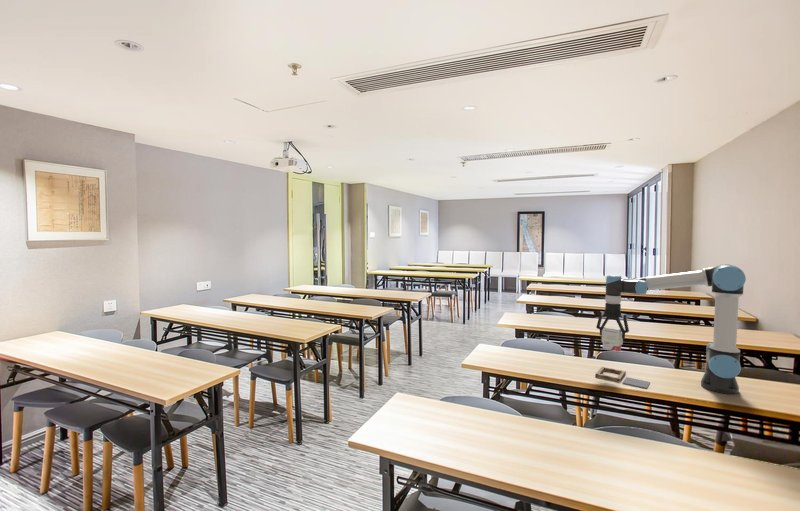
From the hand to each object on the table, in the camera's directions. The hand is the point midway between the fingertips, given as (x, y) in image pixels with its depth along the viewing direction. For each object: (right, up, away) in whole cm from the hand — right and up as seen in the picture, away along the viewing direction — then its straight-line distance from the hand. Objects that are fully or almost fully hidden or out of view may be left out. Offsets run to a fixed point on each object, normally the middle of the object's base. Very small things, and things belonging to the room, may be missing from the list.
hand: (612, 342), depth 215 cm
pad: (+7, -19, -11) cm, 23 cm away
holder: (0, -19, +1) cm, 19 cm away
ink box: (0, -4, 0) cm, 4 cm away
